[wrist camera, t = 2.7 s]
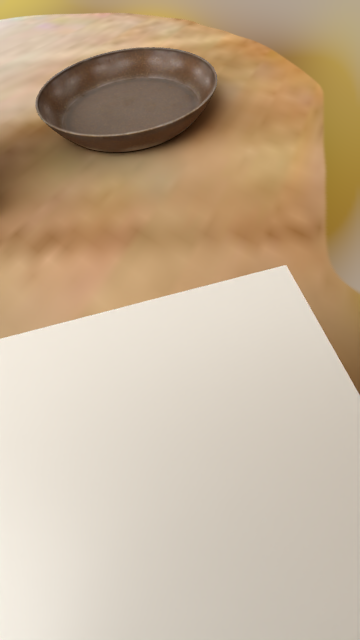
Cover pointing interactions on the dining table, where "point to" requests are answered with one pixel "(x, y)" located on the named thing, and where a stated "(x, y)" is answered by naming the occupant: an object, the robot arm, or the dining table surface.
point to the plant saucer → (127, 98)
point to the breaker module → (181, 472)
